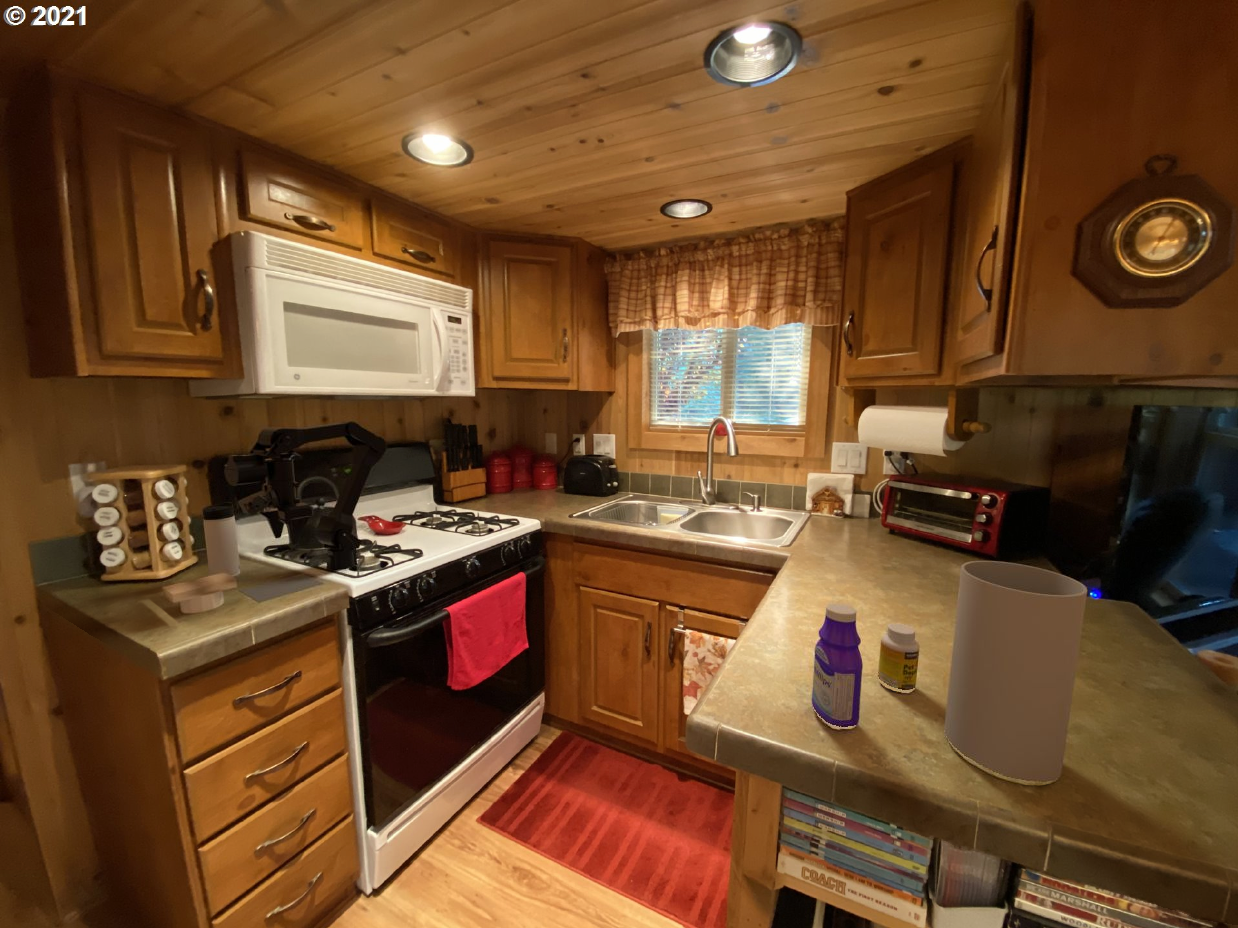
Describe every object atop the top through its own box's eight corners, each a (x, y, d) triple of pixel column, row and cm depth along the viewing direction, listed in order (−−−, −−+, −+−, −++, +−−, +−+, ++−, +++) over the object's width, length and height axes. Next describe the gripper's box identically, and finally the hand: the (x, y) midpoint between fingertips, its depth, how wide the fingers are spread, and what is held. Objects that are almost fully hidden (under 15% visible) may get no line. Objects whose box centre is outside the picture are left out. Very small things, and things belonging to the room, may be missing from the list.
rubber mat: (302, 577, 129) (302, 573, 128) (324, 587, 122) (324, 583, 122) (239, 594, 117) (239, 590, 117) (259, 606, 110) (259, 602, 110)
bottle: (804, 703, 76) (810, 598, 74) (838, 702, 77) (846, 597, 74) (827, 735, 69) (835, 620, 67) (865, 733, 69) (875, 618, 67)
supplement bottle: (902, 699, 77) (908, 639, 76) (870, 681, 82) (874, 624, 81) (922, 689, 80) (928, 631, 79) (890, 672, 85) (894, 617, 84)
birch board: (225, 580, 114) (224, 572, 114) (237, 586, 110) (236, 578, 110) (163, 595, 105) (162, 586, 105) (173, 603, 101) (172, 594, 101)
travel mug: (248, 574, 130) (240, 502, 127) (226, 584, 124) (217, 507, 121) (226, 573, 131) (218, 501, 128) (203, 583, 124) (194, 506, 121)
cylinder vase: (973, 782, 61) (994, 592, 57) (927, 718, 73) (943, 558, 70) (1087, 796, 59) (1116, 600, 55) (1020, 727, 71) (1041, 563, 67)
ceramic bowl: (217, 601, 113) (215, 582, 113) (228, 608, 109) (226, 589, 109) (177, 612, 107) (175, 592, 107) (188, 620, 103) (185, 600, 103)
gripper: (225, 479, 117) (232, 542, 119) (257, 488, 106) (263, 556, 108) (278, 474, 126) (283, 532, 128) (312, 481, 115) (317, 544, 117)
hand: (285, 541), depth 120 cm, fingers open, 9 cm apart
